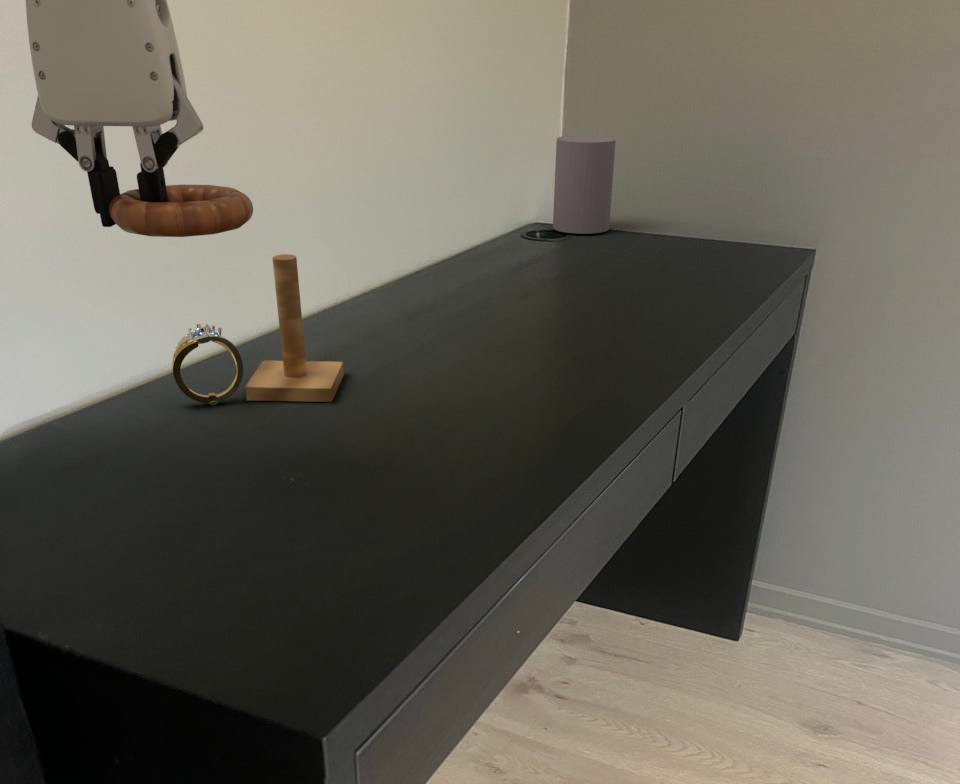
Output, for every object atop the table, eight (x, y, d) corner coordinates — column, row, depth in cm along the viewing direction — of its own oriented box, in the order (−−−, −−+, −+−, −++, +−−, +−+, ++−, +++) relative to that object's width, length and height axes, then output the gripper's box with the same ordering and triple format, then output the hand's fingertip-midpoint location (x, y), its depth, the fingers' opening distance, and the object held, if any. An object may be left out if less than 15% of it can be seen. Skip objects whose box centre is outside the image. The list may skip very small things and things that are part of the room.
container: (619, 229, 182) (626, 138, 174) (590, 238, 175) (596, 144, 167) (571, 222, 187) (576, 133, 179) (541, 230, 180) (545, 139, 172)
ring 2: (245, 395, 105) (236, 319, 100) (249, 405, 102) (239, 327, 98) (178, 402, 103) (165, 324, 98) (179, 412, 100) (166, 333, 96)
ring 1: (92, 238, 75) (86, 204, 73) (140, 212, 84) (135, 181, 82) (233, 240, 74) (229, 206, 73) (266, 214, 83) (263, 183, 82)
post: (246, 400, 103) (229, 266, 96) (264, 373, 111) (249, 246, 103) (331, 402, 103) (321, 267, 96) (344, 374, 111) (335, 247, 103)
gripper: (215, -53, 72) (246, 217, 82) (-4, -54, 73) (54, 214, 83) (184, -58, 66) (222, 235, 76) (-55, -59, 66) (14, 232, 76)
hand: (134, 221), depth 79 cm, fingers closed on ring 1, 2 cm apart
